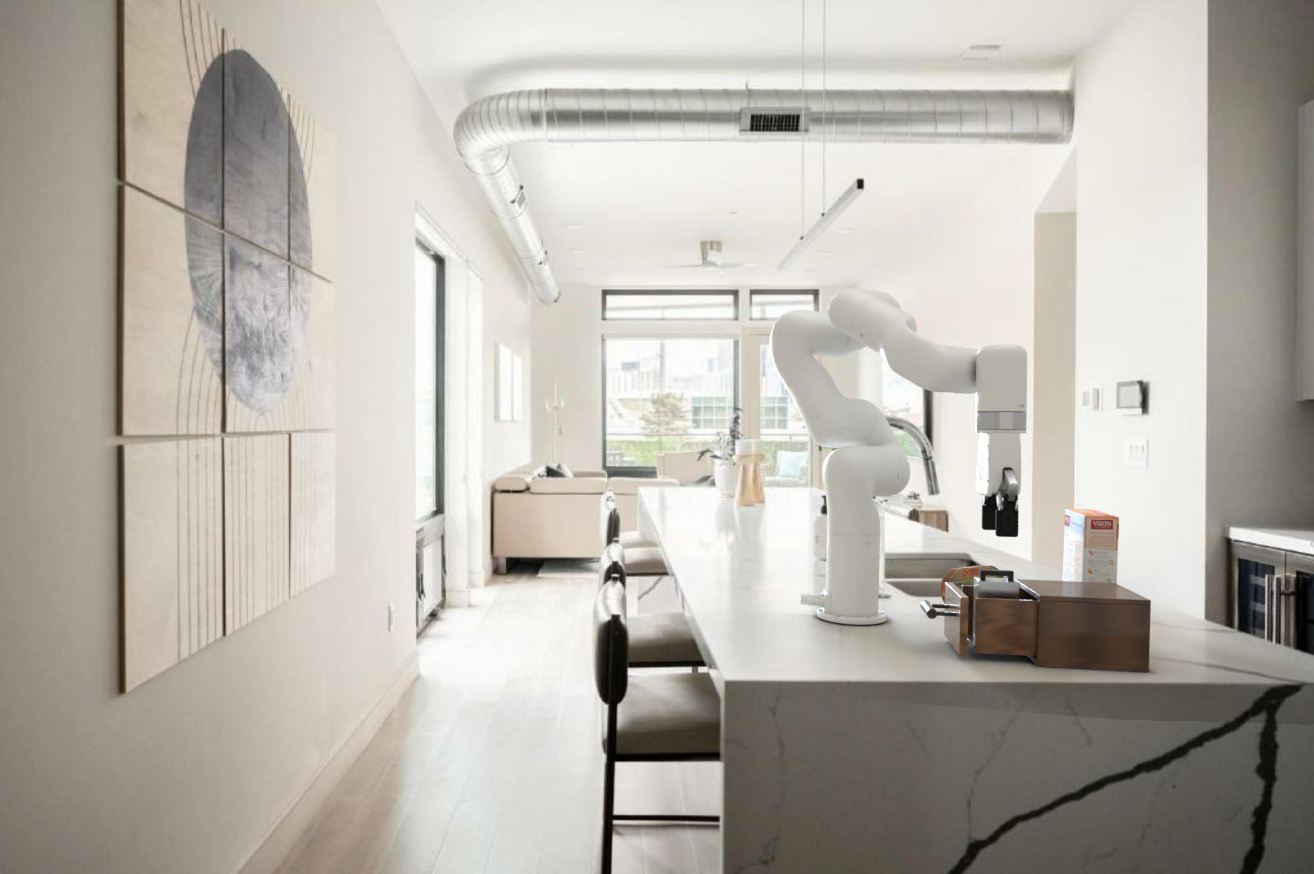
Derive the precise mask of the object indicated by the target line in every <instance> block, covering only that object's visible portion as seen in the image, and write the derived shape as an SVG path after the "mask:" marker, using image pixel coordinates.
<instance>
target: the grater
mask: <svg viewBox="0 0 1314 874" xmlns="http://www.w3.org/2000/svg"><path fill="white" fill-rule="evenodd" d="M986 575H988V576H1003V578H986ZM1005 577H1006V578H1005ZM1014 577H1015V572H1014V570H1008V569H998V570H986V569H979V577H974V596H973V637H974V638H975V610H976V598H996V599H1019V582H1017V581H1016V580H1015V579H1014Z"/></svg>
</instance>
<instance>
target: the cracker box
mask: <svg viewBox="0 0 1314 874" xmlns="http://www.w3.org/2000/svg"><path fill="white" fill-rule="evenodd" d="M1063 529H1064V533H1063V536H1064V537H1063V564H1062V581H1074V582H1099V583H1116V584H1118V583H1117V582H1118V560H1119V559H1118V558H1119V557H1118V556H1119V555H1118V554H1119V536H1120V535H1119V534H1120V517H1119V516H1116V515H1114V514H1109V513H1107V512H1103V511H1100V510H1096V509H1090V508H1089V509H1087V508H1065V510H1064V528H1063Z"/></svg>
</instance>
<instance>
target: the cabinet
mask: <svg viewBox="0 0 1314 874" xmlns="http://www.w3.org/2000/svg"><path fill="white" fill-rule="evenodd" d="M1014 580H1016V581H1017V582H1019V587H1021V588H1022V589H1024V590H1025V591H1026V592H1028V593H1029V594H1031V595H1032V596H1034V597H1035V598H1036V599H1038V622H1037V656H1027V657H1028V659H1029V660H1030V661H1032V662H1033V663H1034V664H1035V665H1036V666H1037V667H1043V668H1063V669H1081V670H1100V671H1101V670H1102V671H1103V670H1104V671H1118V672H1119V671H1120V672H1136V673H1137V672H1139V673H1150V649H1151V648H1150V645H1151V643H1150V642H1151V641H1150V640H1151V639H1150V638H1151V610H1152V609H1151V607H1152V600H1151V599H1149V598H1147V597H1145V596H1143V595H1141V594H1139V593H1137V592H1135V591H1132V590H1130V589H1129V588H1127V587H1124V586H1122V585H1120V584H1118V583H1117V584H1116V583H1099V582H1074V581H1063V580H1051V579H1050V580H1049V579H1048V580H1047V579H1045V580H1044V579H1022V578H1015V579H1014Z"/></svg>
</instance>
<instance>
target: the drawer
mask: <svg viewBox="0 0 1314 874" xmlns="http://www.w3.org/2000/svg"><path fill="white" fill-rule="evenodd" d="M973 596H974V585H962V591H961V590H960V589H959V588H958V587H957V586H956V585H955V584H954V583H952V582H945V603H931V602H930V601H929V600H926V599H924V600H922V601H920V604H919V606H920V608H921V610H922V611H923V612H924V614H925V615H926V617H927V618H929V619H931V620H934V619H936V618H937V617H944V619H943V620H944V621H943V622H944V624H943V635H944V637H945V638H946V640H947V641H948V642H949V643H950V645H951V647H953V649H954V650H955V652H956V653H957V654H958V655H959V656H965V657H966V656H968V646H969V647H970V648H971V649H972V651H973V652H974V653H975V654H985V655H987V654H989V655H1008V656H1026V657H1028V656H1037V622H1038V599H1036V598H1035V597H1034V596H1032V595H1031V594H1029V593H1028V592H1026V591H1025V590H1024V589H1022V588H1021V587H1019V599H996V598H976V610H975V638H974V637H973ZM936 609H942V610H943V609H944V611H939V610H936Z"/></svg>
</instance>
